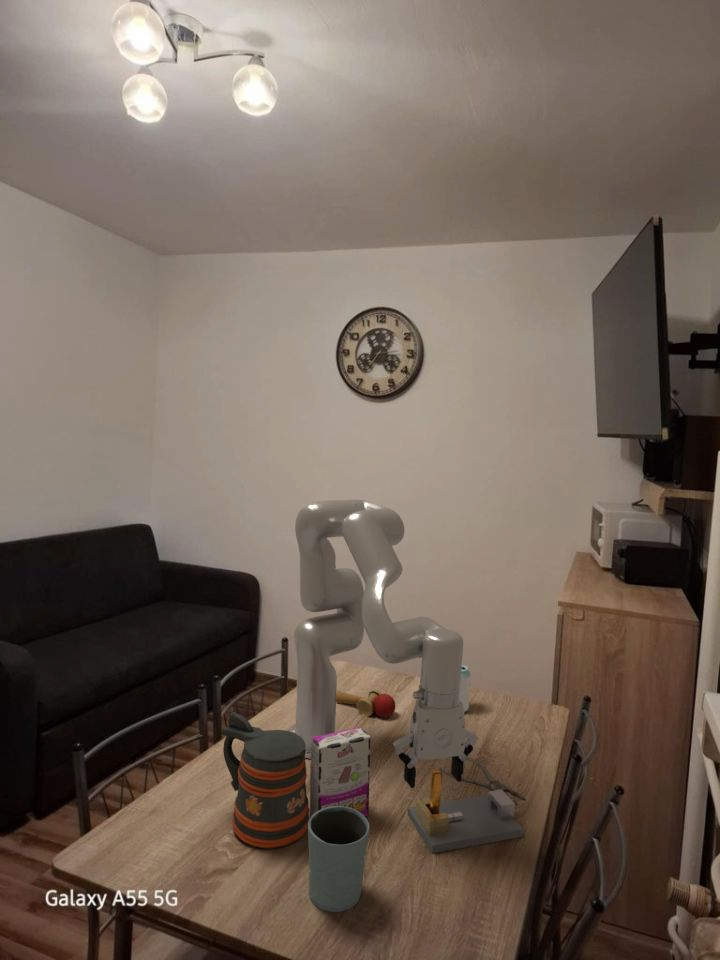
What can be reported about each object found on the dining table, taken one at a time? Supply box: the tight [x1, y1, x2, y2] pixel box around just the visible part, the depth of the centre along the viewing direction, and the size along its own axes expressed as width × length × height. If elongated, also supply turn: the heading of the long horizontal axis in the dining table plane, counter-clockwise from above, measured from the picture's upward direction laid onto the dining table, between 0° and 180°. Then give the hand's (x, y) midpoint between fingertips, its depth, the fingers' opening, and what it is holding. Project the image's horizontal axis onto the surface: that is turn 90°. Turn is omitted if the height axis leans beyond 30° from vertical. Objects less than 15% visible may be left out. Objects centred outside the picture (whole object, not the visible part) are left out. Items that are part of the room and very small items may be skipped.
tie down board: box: [407, 794, 525, 854], centre depth 123 cm, size 19×12×2 cm, turn 108°
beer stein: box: [221, 711, 310, 849], centre depth 121 cm, size 19×15×20 cm
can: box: [459, 663, 471, 713], centre depth 175 cm, size 7×7×12 cm
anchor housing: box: [487, 790, 515, 821], centre depth 125 cm, size 3×5×3 cm, turn 18°
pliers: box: [439, 756, 526, 805], centre depth 140 cm, size 10×1×20 cm
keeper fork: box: [415, 797, 450, 836], centre depth 121 cm, size 4×7×3 cm, turn 18°
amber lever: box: [429, 768, 463, 822], centre depth 121 cm, size 7×2×10 cm, turn 108°
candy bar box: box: [309, 726, 372, 819], centre depth 124 cm, size 11×5×16 cm, turn 117°
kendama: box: [336, 689, 396, 718], centre depth 172 cm, size 8×6×18 cm
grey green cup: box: [307, 806, 370, 913], centre depth 103 cm, size 10×10×12 cm
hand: (433, 780), depth 121 cm, fingers open, 9 cm apart
